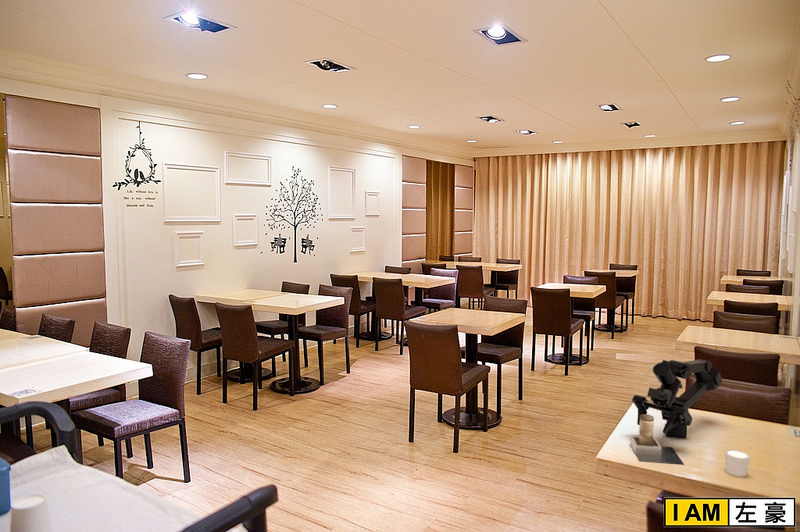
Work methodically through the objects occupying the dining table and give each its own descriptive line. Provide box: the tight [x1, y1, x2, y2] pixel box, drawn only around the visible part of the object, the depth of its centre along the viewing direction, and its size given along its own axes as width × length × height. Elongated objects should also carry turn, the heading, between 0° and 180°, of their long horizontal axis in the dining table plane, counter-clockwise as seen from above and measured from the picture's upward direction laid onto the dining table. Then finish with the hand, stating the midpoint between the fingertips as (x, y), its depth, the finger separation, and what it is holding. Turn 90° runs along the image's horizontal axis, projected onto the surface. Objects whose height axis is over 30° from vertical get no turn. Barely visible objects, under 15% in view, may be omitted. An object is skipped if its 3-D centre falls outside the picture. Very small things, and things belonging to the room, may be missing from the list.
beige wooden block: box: [638, 413, 655, 446], centre depth 193 cm, size 4×4×12 cm
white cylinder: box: [724, 449, 751, 478], centre depth 177 cm, size 7×7×7 cm
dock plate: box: [629, 435, 685, 466], centre depth 190 cm, size 14×14×4 cm
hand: (650, 428), depth 194 cm, fingers open, 9 cm apart
